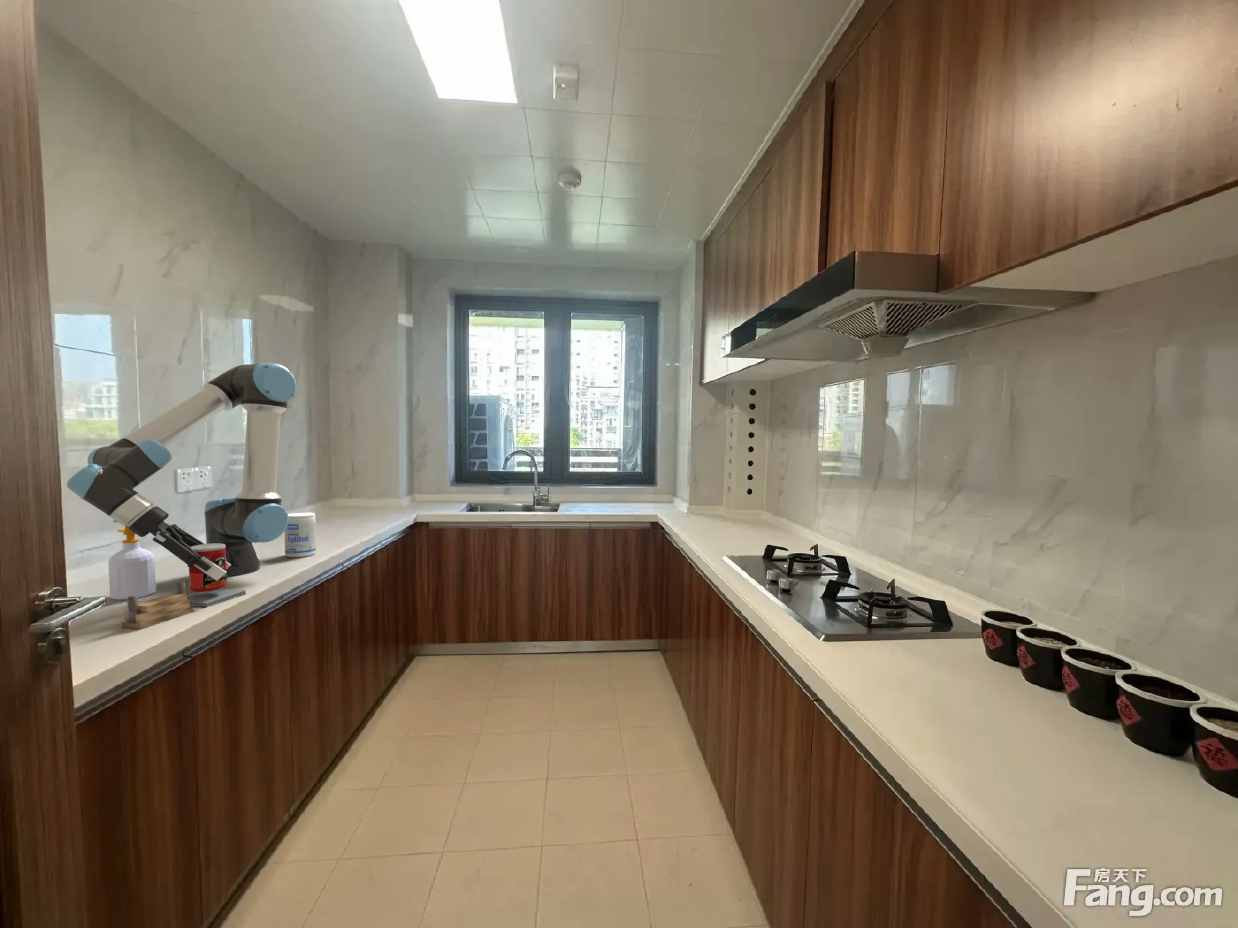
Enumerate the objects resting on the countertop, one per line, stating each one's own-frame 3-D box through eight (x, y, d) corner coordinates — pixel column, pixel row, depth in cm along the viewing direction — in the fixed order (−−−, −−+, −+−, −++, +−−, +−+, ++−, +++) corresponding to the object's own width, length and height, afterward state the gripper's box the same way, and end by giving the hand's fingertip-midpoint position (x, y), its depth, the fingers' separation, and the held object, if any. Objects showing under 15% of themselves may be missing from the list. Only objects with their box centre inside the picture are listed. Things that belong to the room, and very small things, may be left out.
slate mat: (211, 591, 145) (211, 588, 145) (245, 594, 143) (245, 590, 143) (170, 604, 134) (170, 600, 134) (207, 606, 132) (206, 603, 132)
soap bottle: (145, 588, 148) (141, 500, 146) (162, 592, 144) (158, 502, 142) (103, 597, 140) (98, 504, 138) (120, 602, 136) (115, 506, 134)
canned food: (207, 593, 134) (205, 549, 133) (181, 591, 135) (179, 548, 135) (234, 584, 141) (233, 543, 141) (210, 582, 143) (208, 542, 142)
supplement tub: (286, 559, 183) (284, 517, 182) (284, 554, 191) (282, 513, 190) (318, 555, 188) (317, 514, 188) (315, 550, 196) (313, 511, 195)
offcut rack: (177, 610, 130) (175, 581, 129) (194, 611, 129) (192, 582, 128) (120, 628, 118) (119, 596, 117) (139, 629, 117) (137, 598, 116)
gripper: (140, 521, 139) (218, 574, 148) (113, 534, 121) (204, 594, 130) (165, 500, 141) (241, 553, 150) (142, 510, 123) (230, 570, 132)
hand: (224, 572), depth 140 cm, fingers closed on canned food, 8 cm apart
